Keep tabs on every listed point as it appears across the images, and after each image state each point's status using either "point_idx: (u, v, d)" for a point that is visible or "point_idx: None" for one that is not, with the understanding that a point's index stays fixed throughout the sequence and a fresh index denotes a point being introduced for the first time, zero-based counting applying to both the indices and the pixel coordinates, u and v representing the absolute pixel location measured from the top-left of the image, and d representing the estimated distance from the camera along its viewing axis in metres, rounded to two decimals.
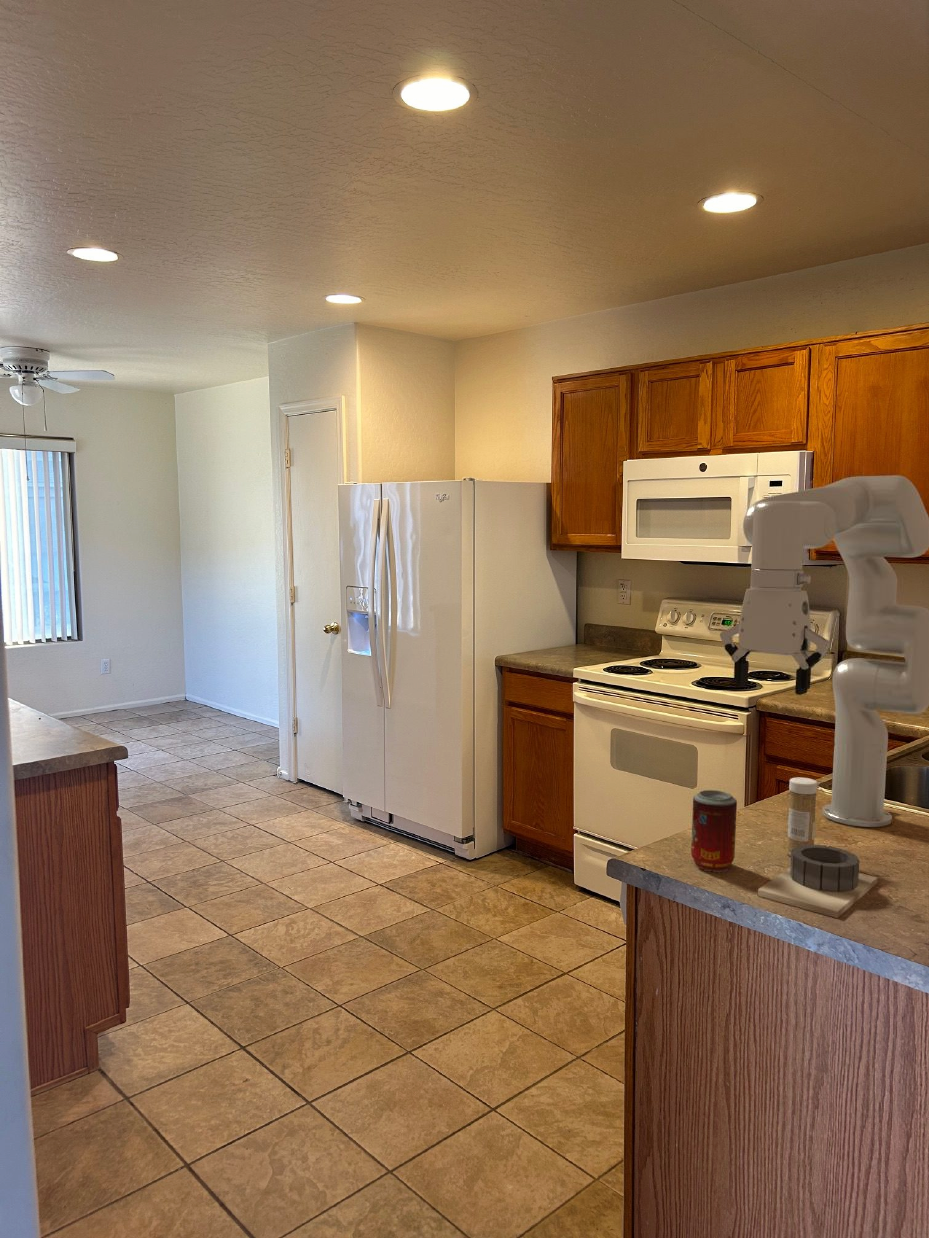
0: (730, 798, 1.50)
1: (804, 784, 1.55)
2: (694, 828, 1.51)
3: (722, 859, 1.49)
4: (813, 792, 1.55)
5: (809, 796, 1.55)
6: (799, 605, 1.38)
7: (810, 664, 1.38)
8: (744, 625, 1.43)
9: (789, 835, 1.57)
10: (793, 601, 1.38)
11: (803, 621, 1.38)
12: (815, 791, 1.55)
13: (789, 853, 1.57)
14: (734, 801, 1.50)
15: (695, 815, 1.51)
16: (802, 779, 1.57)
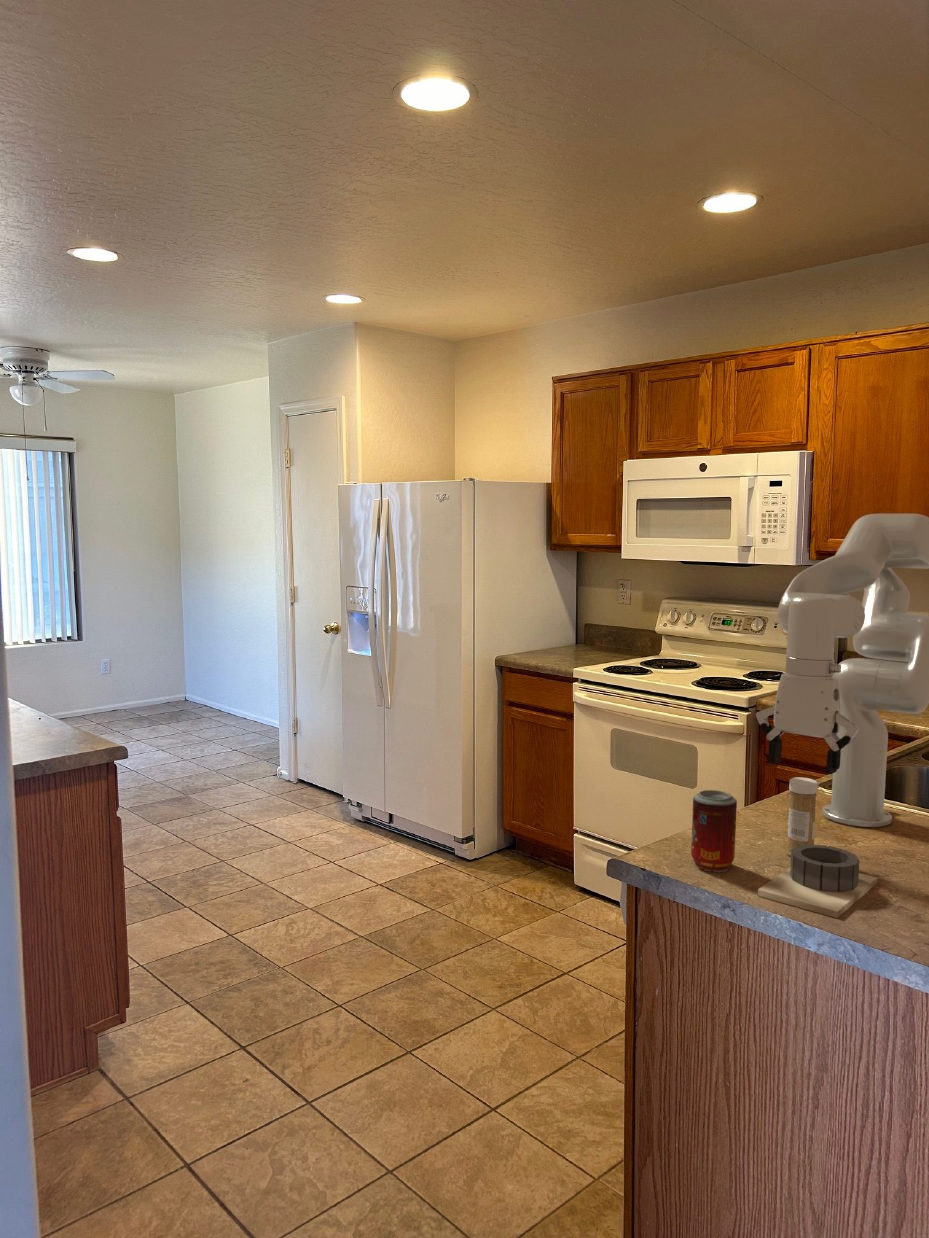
0: (730, 798, 1.50)
1: (804, 784, 1.55)
2: (694, 828, 1.51)
3: (722, 858, 1.49)
4: (813, 792, 1.55)
5: (809, 796, 1.55)
6: (831, 692, 1.51)
7: (840, 746, 1.51)
8: (779, 707, 1.56)
9: (789, 835, 1.57)
10: (825, 688, 1.51)
11: (834, 707, 1.51)
12: (815, 791, 1.55)
13: (789, 853, 1.57)
14: (734, 801, 1.50)
15: (695, 815, 1.51)
16: (802, 779, 1.57)
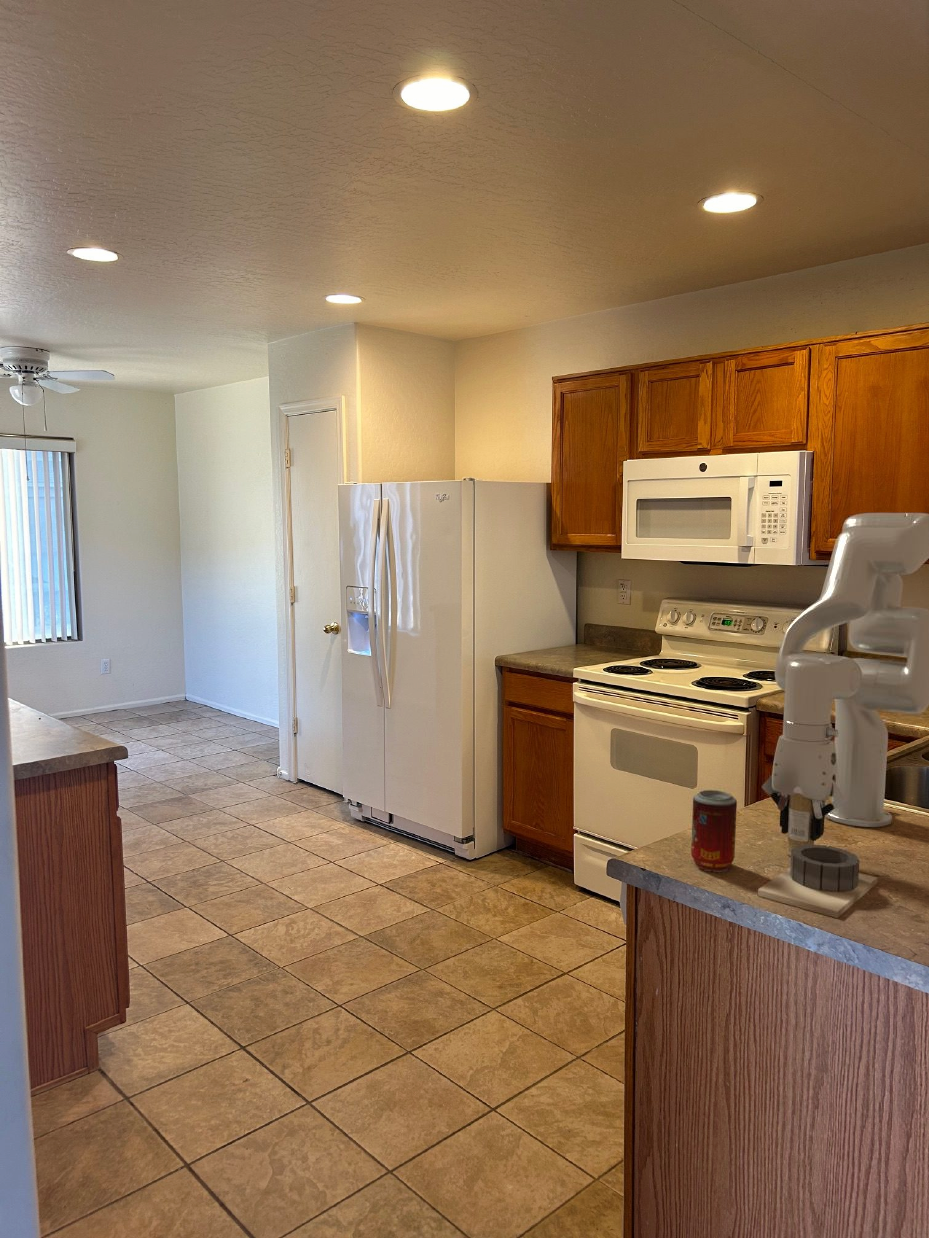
0: (730, 798, 1.50)
1: None
2: (694, 828, 1.51)
3: (722, 858, 1.49)
4: None
5: None
6: (828, 757, 1.52)
7: (823, 816, 1.54)
8: (777, 770, 1.57)
9: (789, 835, 1.57)
10: (823, 753, 1.52)
11: (832, 771, 1.52)
12: None
13: (789, 853, 1.57)
14: (734, 801, 1.50)
15: (695, 815, 1.51)
16: None
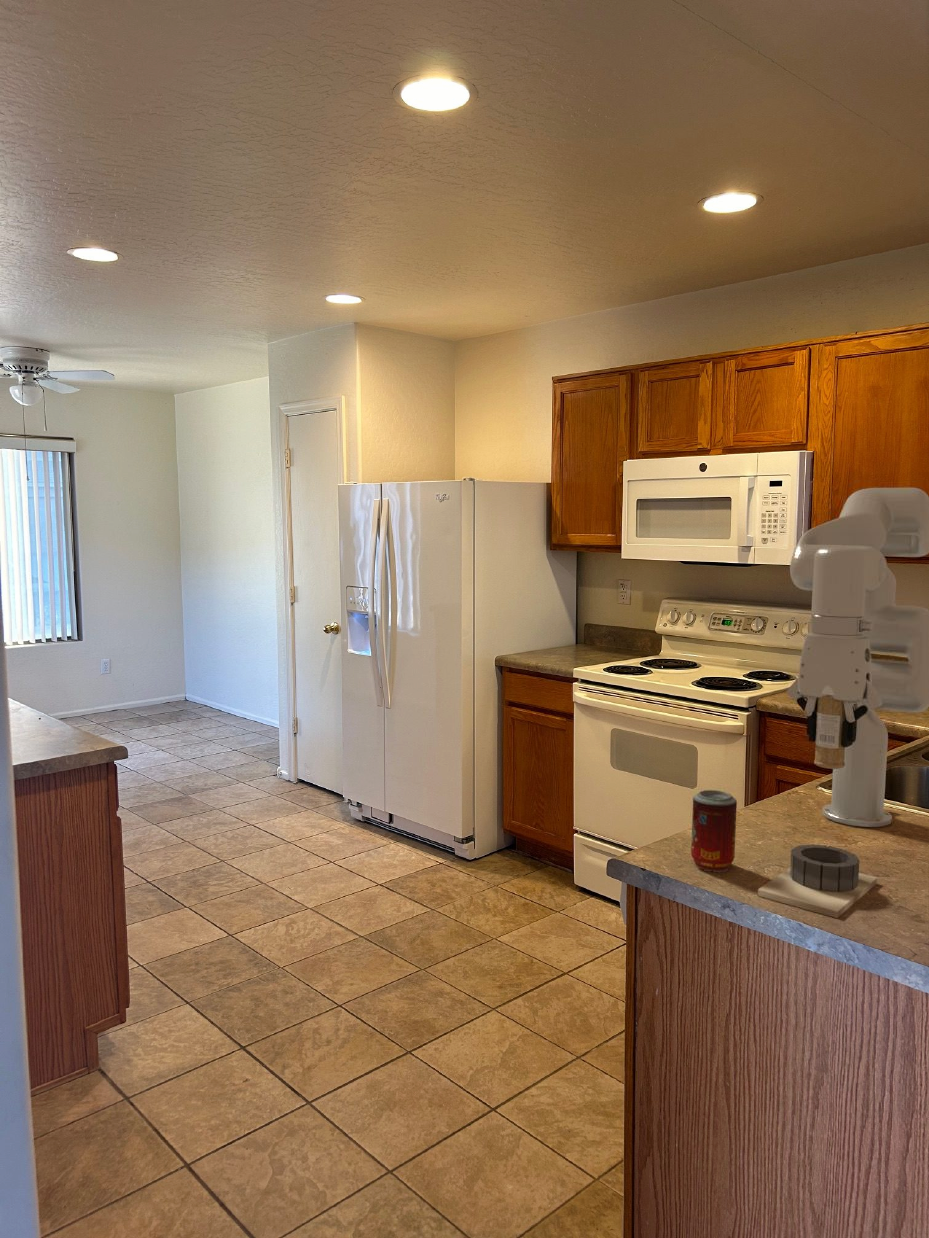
0: (730, 798, 1.50)
1: None
2: (694, 828, 1.51)
3: (722, 859, 1.49)
4: None
5: None
6: (862, 652, 1.37)
7: (856, 719, 1.39)
8: (804, 671, 1.42)
9: (817, 743, 1.42)
10: (856, 648, 1.37)
11: (865, 668, 1.37)
12: None
13: (817, 762, 1.42)
14: (734, 801, 1.50)
15: (695, 815, 1.51)
16: None
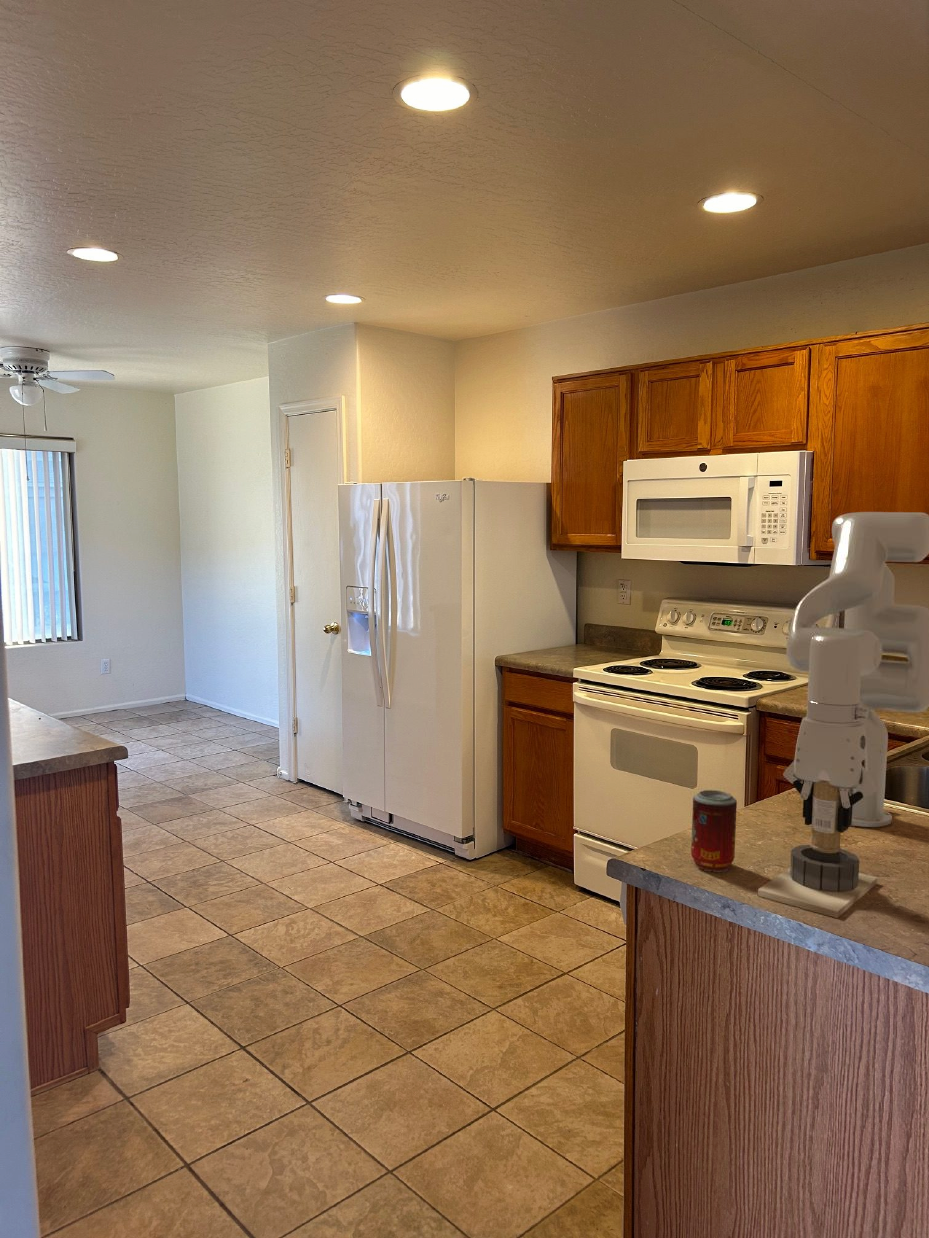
0: (730, 798, 1.50)
1: None
2: (694, 828, 1.51)
3: (722, 858, 1.49)
4: None
5: None
6: (857, 740, 1.38)
7: (852, 805, 1.40)
8: (801, 755, 1.43)
9: (813, 826, 1.43)
10: (851, 736, 1.38)
11: (861, 756, 1.39)
12: None
13: (813, 846, 1.43)
14: (734, 801, 1.50)
15: (695, 815, 1.51)
16: None
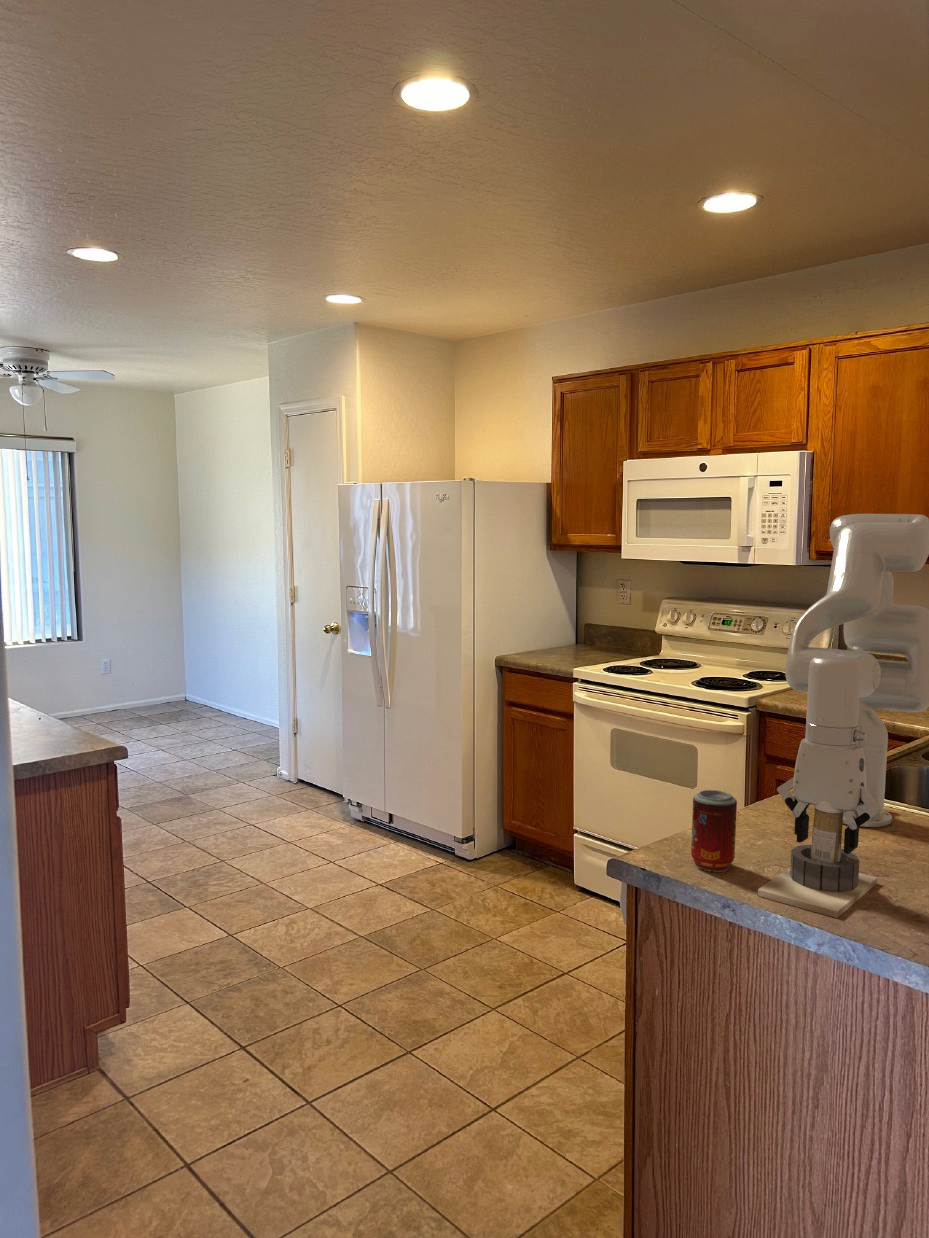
0: (730, 798, 1.50)
1: None
2: (694, 828, 1.51)
3: (722, 858, 1.49)
4: (841, 811, 1.41)
5: (836, 815, 1.41)
6: (856, 763, 1.38)
7: None
8: (799, 777, 1.44)
9: (812, 856, 1.44)
10: (850, 759, 1.38)
11: (860, 778, 1.39)
12: None
13: None
14: (734, 801, 1.50)
15: (695, 815, 1.51)
16: None
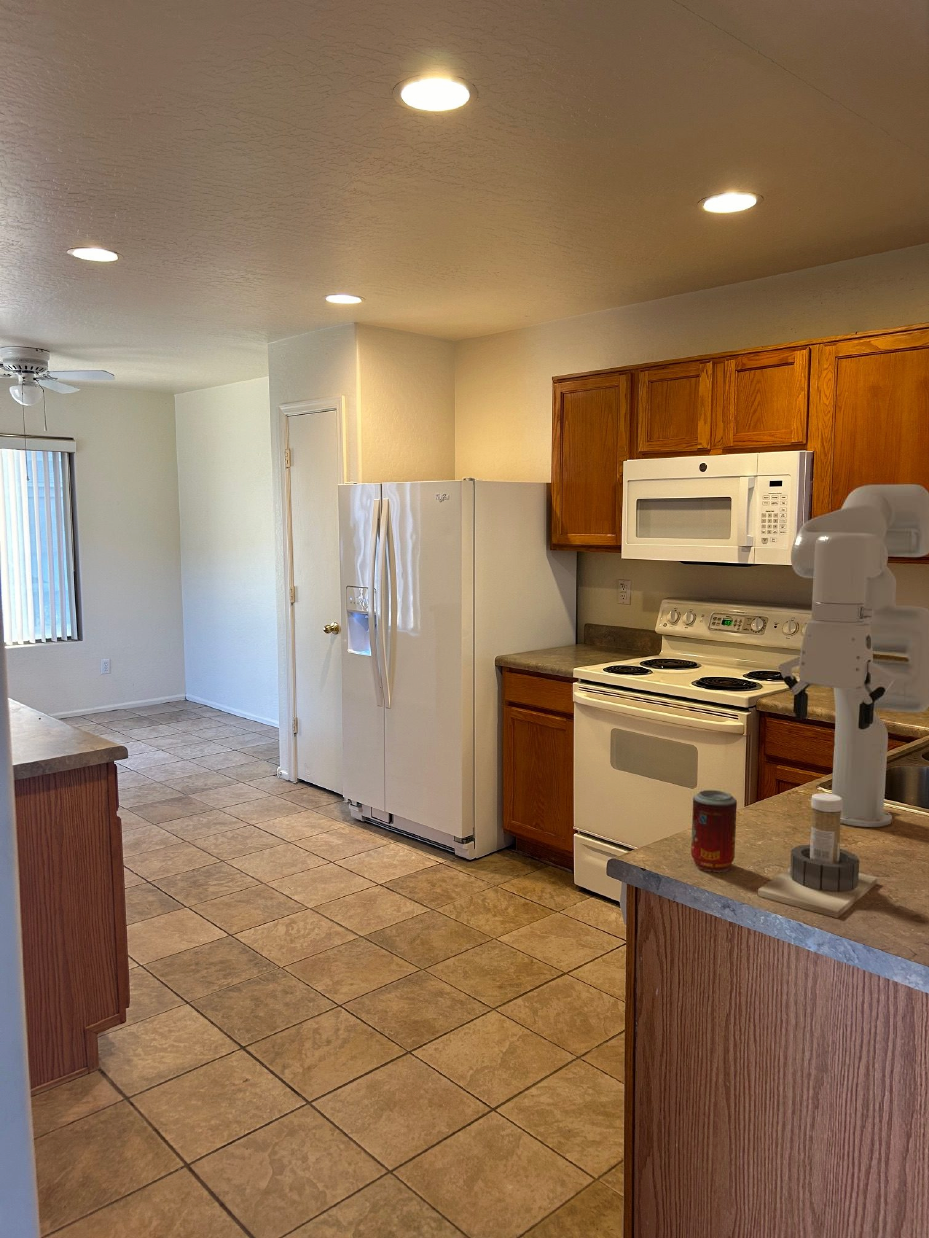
0: (730, 798, 1.50)
1: (828, 801, 1.41)
2: (694, 828, 1.51)
3: (722, 858, 1.49)
4: (838, 809, 1.41)
5: (833, 814, 1.41)
6: (863, 639, 1.37)
7: (874, 699, 1.37)
8: (805, 658, 1.42)
9: (811, 857, 1.44)
10: (857, 635, 1.37)
11: (866, 655, 1.37)
12: (840, 808, 1.42)
13: None
14: (734, 801, 1.50)
15: (695, 815, 1.51)
16: (825, 795, 1.44)
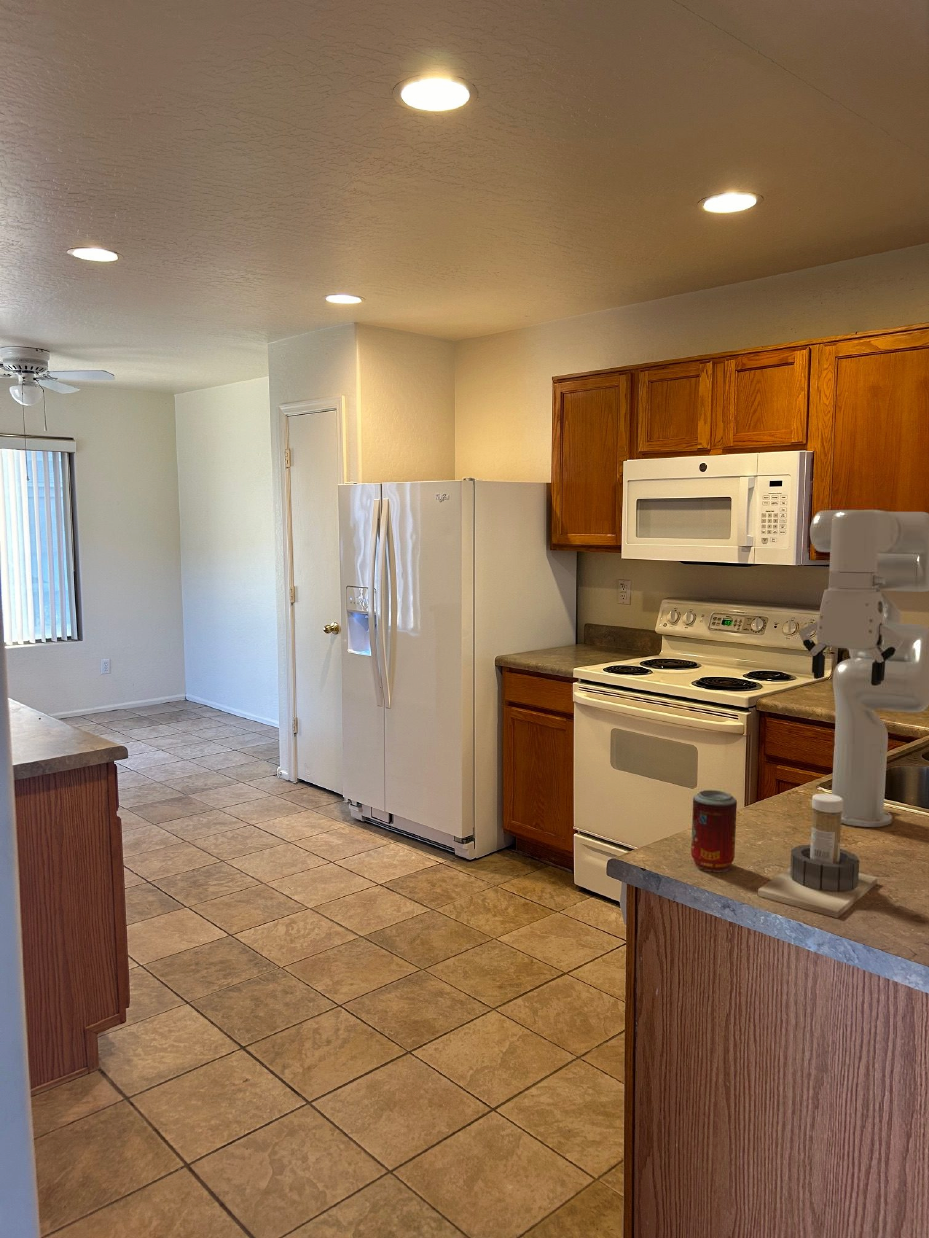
0: (730, 798, 1.50)
1: (829, 802, 1.41)
2: (694, 828, 1.51)
3: (722, 858, 1.49)
4: (839, 810, 1.41)
5: (834, 815, 1.41)
6: (875, 604, 1.52)
7: (885, 658, 1.52)
8: (823, 622, 1.57)
9: (812, 857, 1.44)
10: (870, 601, 1.52)
11: (878, 619, 1.53)
12: (841, 809, 1.42)
13: None
14: (734, 801, 1.50)
15: (695, 815, 1.51)
16: (826, 796, 1.44)
